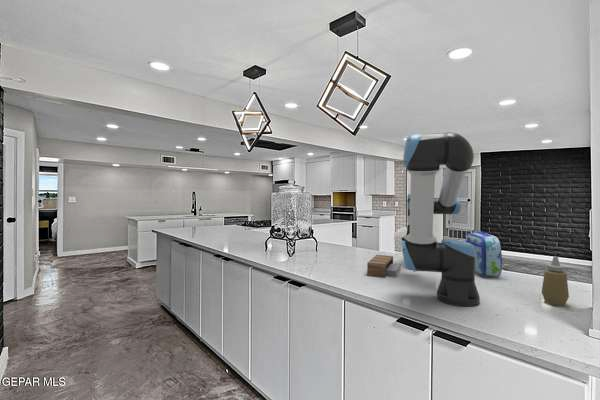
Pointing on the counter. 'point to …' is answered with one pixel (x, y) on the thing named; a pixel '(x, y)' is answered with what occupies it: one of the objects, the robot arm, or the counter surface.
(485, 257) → the lunch box
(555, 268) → the squeeze bottle
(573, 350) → the counter surface
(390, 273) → the panel
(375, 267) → the walnut tunnel
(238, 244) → the counter surface
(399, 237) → the heart
